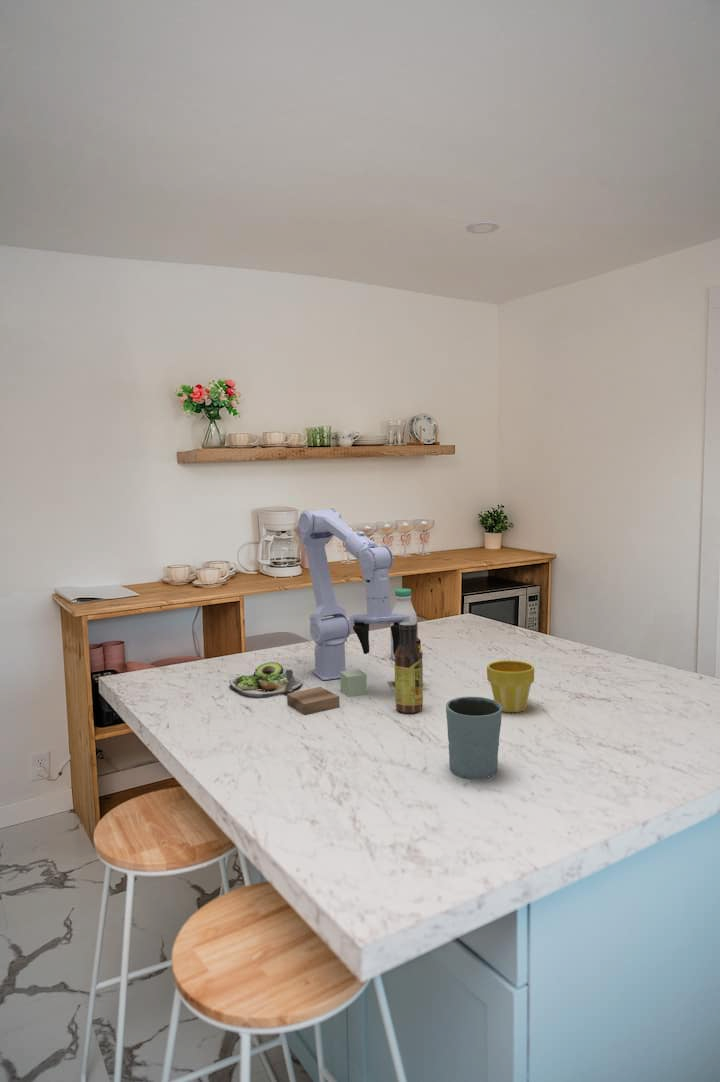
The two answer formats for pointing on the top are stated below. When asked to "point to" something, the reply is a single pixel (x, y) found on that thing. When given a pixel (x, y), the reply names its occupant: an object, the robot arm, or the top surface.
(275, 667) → the salad plate
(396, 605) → the milk bottle
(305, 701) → the walnut block
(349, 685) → the sage cube
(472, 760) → the grey blue cup
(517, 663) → the plant pot
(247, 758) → the top surface
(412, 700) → the sauce bottle
